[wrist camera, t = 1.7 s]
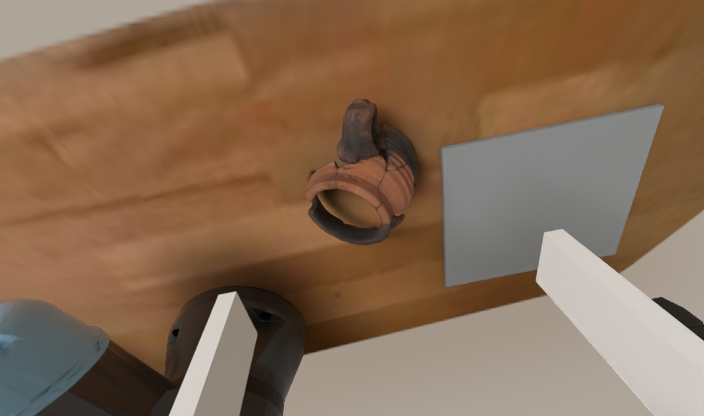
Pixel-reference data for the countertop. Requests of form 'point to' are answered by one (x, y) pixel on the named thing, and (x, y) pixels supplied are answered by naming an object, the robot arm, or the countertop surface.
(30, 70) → the countertop surface
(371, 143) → the broken terracotta jug
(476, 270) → the gray mat
